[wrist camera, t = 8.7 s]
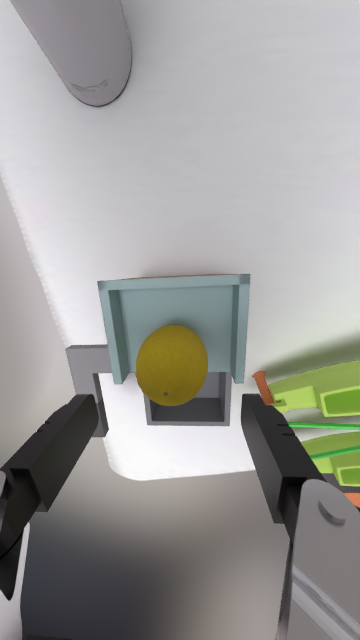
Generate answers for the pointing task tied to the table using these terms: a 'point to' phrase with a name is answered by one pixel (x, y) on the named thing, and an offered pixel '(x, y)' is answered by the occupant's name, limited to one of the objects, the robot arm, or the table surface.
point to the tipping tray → (160, 310)
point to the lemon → (171, 365)
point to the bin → (197, 405)
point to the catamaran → (332, 400)
